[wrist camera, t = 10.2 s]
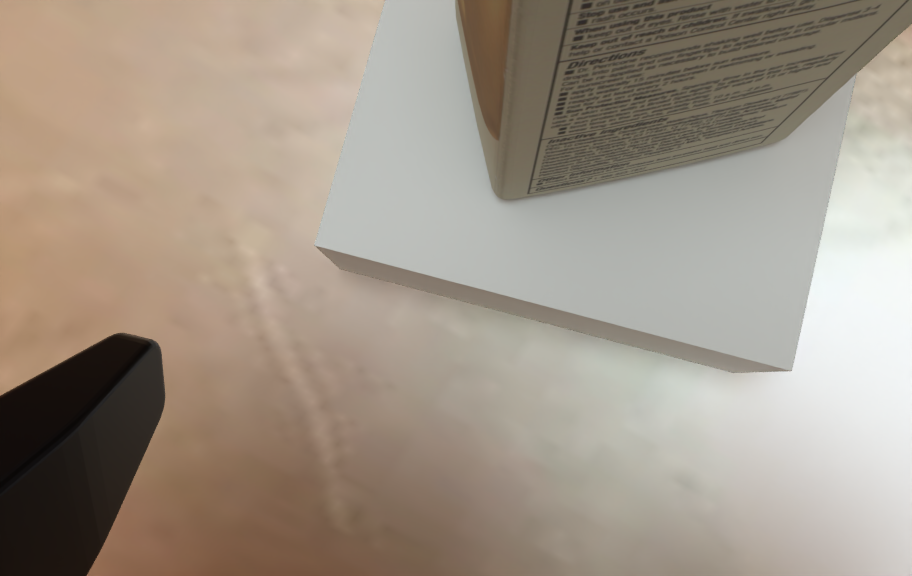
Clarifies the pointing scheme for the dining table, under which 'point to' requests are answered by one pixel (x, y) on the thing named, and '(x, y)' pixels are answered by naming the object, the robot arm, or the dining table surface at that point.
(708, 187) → the grey block
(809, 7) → the skincare box
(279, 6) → the dining table surface
